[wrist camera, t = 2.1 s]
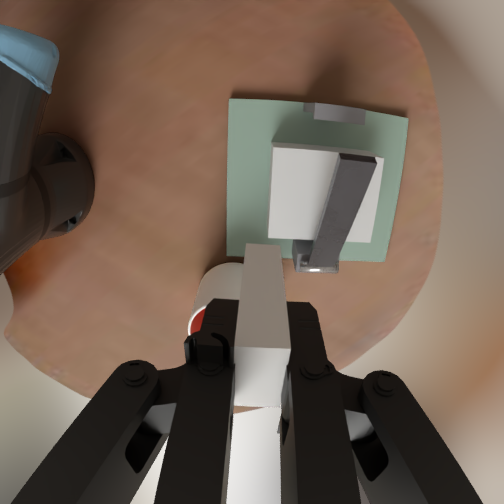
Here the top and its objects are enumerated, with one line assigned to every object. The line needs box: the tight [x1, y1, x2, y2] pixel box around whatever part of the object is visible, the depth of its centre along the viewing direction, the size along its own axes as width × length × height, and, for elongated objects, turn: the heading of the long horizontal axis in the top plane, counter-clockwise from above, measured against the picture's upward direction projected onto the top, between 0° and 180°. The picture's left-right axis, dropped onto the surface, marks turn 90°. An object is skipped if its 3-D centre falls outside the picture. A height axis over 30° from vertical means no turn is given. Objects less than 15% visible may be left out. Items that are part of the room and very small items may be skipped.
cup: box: [188, 262, 244, 335], centre depth 41 cm, size 10×10×10 cm
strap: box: [299, 153, 377, 273], centre depth 29 cm, size 4×17×1 cm, turn 178°
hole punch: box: [227, 99, 408, 273], centre depth 34 cm, size 22×20×9 cm
